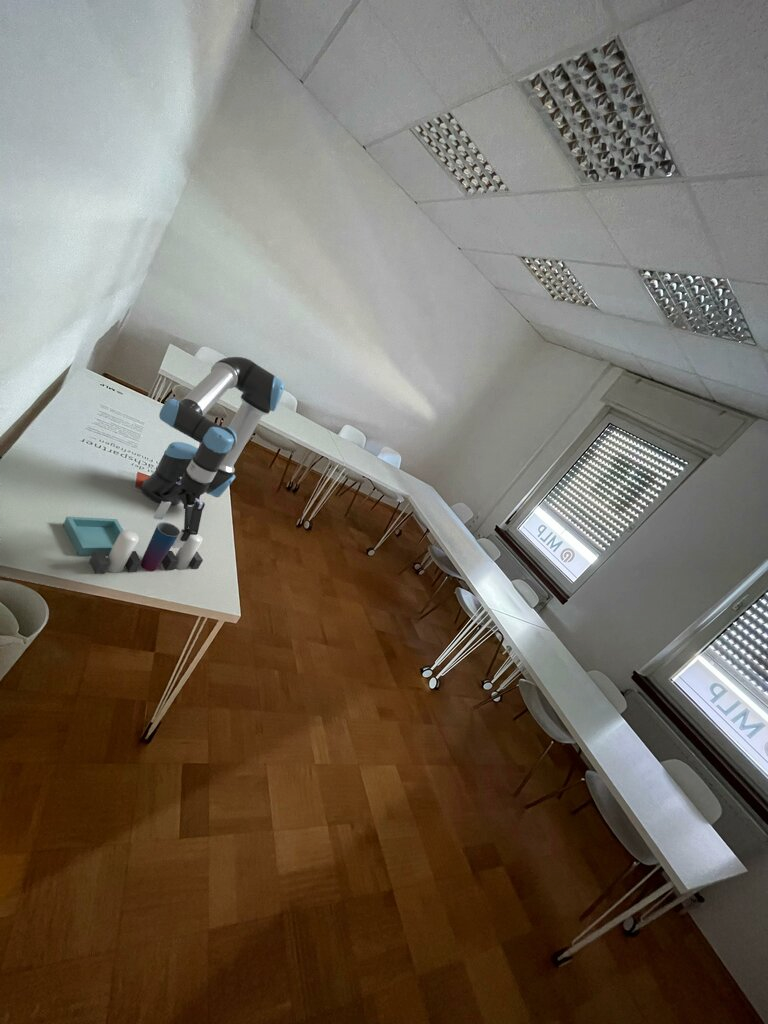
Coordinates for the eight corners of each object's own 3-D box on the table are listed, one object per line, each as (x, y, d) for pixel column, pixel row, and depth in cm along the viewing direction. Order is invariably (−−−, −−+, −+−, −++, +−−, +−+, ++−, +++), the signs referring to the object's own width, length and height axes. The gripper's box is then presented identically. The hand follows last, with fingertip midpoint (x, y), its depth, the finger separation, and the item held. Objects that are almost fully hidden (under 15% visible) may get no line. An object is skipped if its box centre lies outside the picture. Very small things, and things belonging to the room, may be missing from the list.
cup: (143, 555, 134) (162, 519, 130) (163, 565, 136) (183, 530, 132) (132, 566, 128) (153, 528, 124) (154, 576, 130) (175, 539, 126)
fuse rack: (191, 559, 147) (206, 532, 144) (197, 568, 145) (213, 542, 142) (88, 562, 119) (105, 529, 116) (94, 574, 117) (111, 541, 114)
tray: (112, 526, 137) (116, 519, 136) (129, 555, 131) (133, 547, 130) (62, 524, 125) (66, 516, 124) (78, 556, 119) (82, 547, 118)
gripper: (167, 450, 125) (138, 506, 130) (207, 501, 114) (173, 560, 119) (190, 455, 131) (161, 508, 137) (230, 503, 120) (196, 559, 126)
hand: (166, 532), depth 128 cm, fingers open, 13 cm apart
